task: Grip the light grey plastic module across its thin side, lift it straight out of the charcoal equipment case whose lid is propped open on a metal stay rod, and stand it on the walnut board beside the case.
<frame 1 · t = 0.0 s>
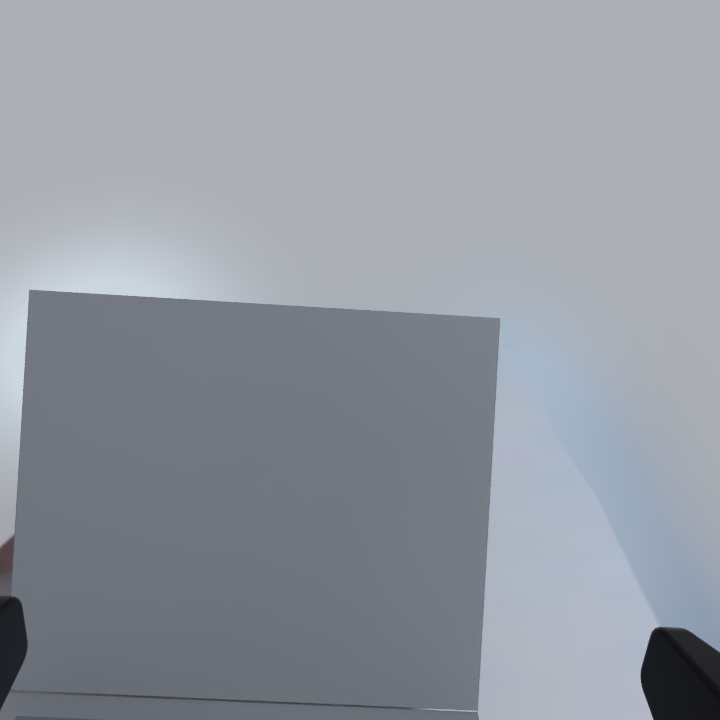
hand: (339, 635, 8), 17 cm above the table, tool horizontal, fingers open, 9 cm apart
case lid: (257, 498, 23), point 10 cm above the table, hinge at 108.0°
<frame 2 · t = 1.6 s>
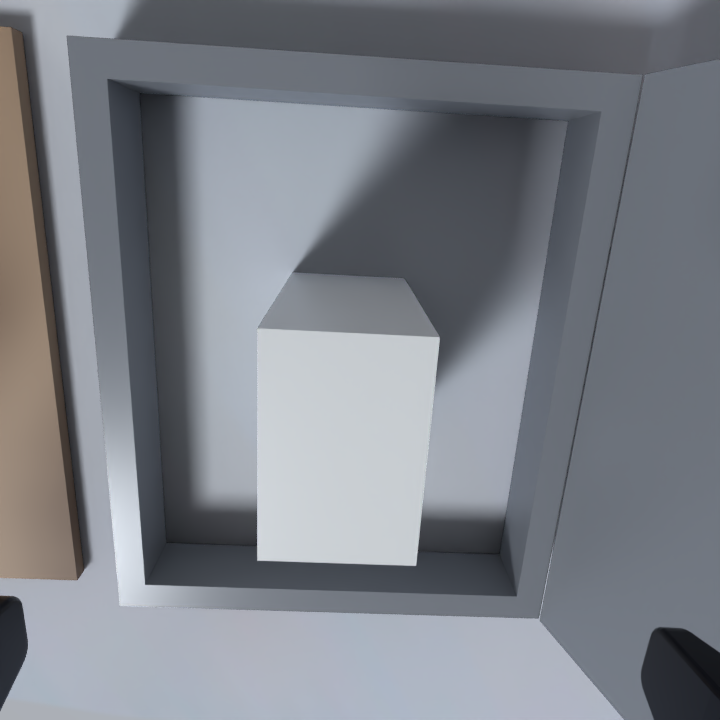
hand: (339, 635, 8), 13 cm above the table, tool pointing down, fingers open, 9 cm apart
equipment case: (344, 355, 20), on the table
module: (344, 355, 21), resting in equipment case
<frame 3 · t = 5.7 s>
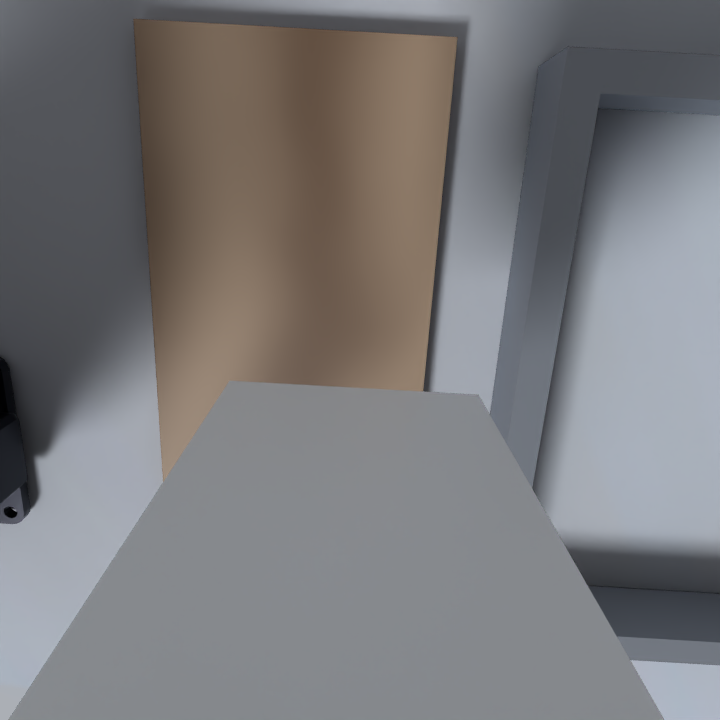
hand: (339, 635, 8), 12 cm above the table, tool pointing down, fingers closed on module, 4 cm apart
walnut board: (292, 363, 19), on the table
module: (344, 546, 10), point 10 cm above the table, touching gripper
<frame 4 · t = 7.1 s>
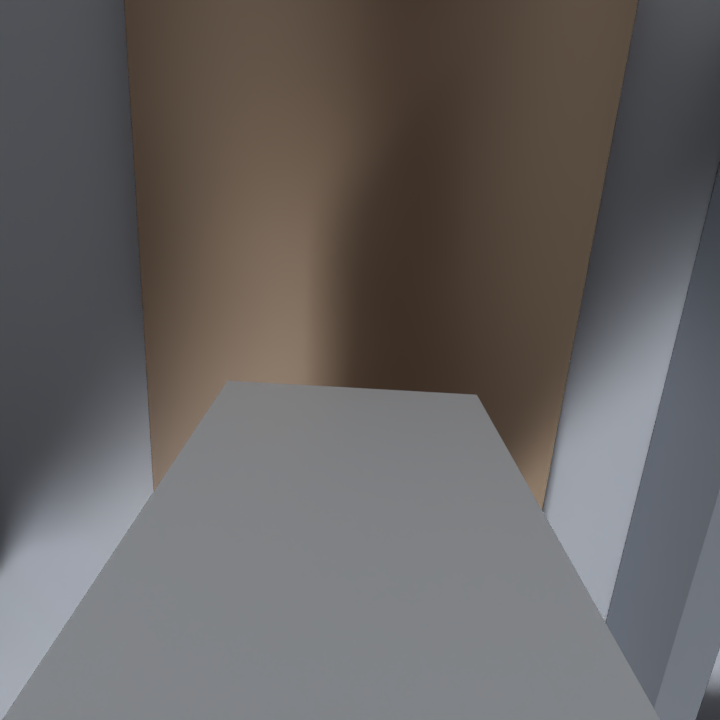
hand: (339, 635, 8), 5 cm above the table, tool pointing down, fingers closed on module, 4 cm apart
walnut board: (351, 454, 13), on the table
module: (343, 546, 10), point 3 cm above the table, touching gripper
when the fingers open (4 cm above the table, at t = 8.1 s): module drops 1 cm, resting on walnut board.
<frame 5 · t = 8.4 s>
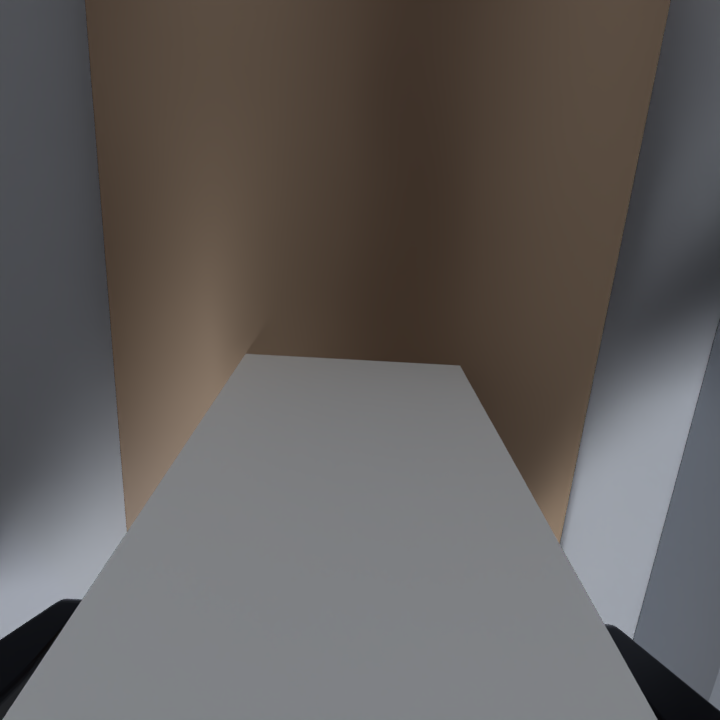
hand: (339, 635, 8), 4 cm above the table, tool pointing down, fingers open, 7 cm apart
walnut board: (347, 484, 12), on the table
module: (345, 500, 11), point 1 cm above the table, touching walnut board
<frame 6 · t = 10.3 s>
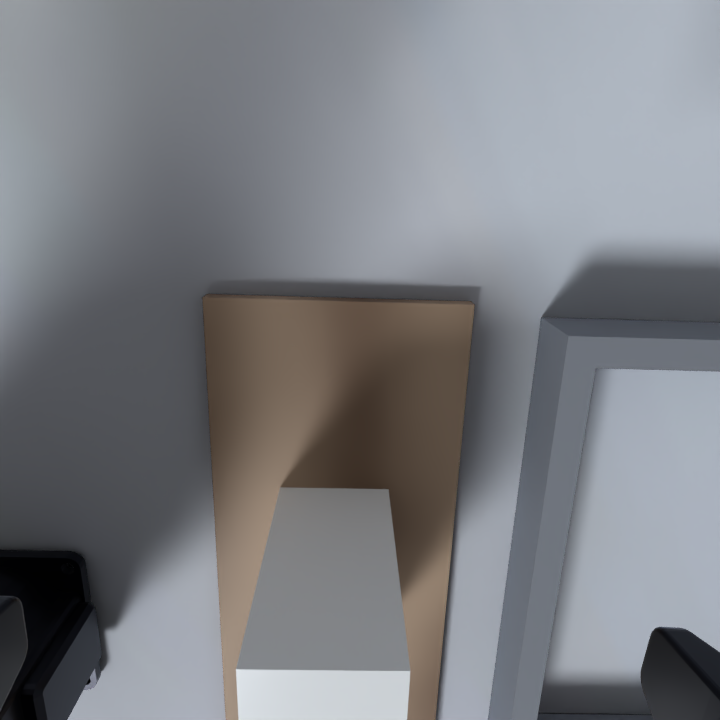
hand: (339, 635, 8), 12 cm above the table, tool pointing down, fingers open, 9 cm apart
equipment case: (708, 554, 22), on the table
walnut board: (334, 547, 22), on the table
module: (333, 557, 21), point 1 cm above the table, touching walnut board
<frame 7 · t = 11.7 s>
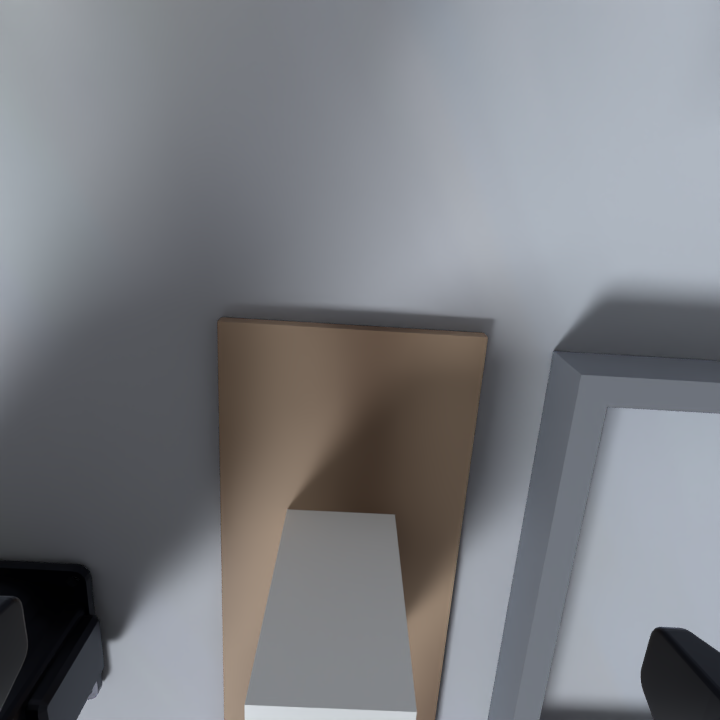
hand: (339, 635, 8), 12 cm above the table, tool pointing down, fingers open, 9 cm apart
equipment case: (709, 587, 22), on the table
walnut board: (338, 568, 22), on the table
module: (337, 578, 21), point 1 cm above the table, touching walnut board
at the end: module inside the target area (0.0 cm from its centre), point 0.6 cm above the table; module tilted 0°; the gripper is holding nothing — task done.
